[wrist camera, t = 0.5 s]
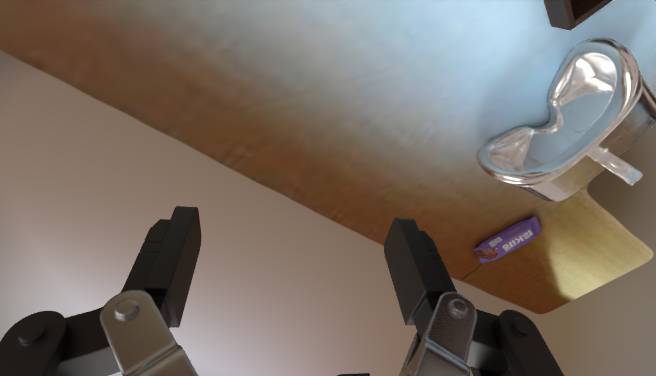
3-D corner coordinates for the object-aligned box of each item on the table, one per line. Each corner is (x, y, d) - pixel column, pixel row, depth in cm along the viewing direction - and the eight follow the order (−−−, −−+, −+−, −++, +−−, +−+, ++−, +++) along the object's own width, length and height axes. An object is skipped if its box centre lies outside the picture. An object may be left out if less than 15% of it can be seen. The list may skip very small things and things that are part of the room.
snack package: (539, 219, 53) (546, 235, 56) (532, 211, 55) (538, 227, 58) (475, 253, 56) (484, 267, 59) (470, 245, 58) (479, 259, 60)
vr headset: (569, 28, 38) (703, 56, 26) (616, 77, 43) (748, 120, 31) (462, 150, 46) (528, 214, 34) (511, 180, 50) (585, 246, 38)
